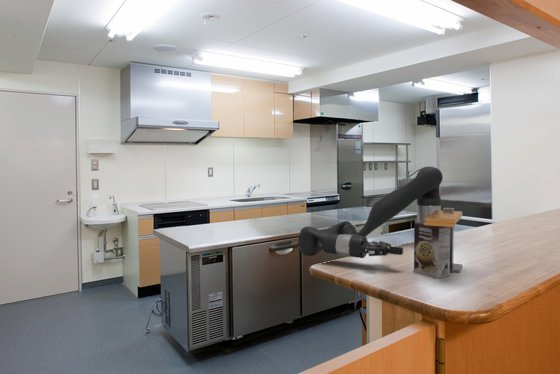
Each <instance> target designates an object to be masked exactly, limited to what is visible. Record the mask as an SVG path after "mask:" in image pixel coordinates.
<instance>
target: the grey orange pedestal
mask: <svg viewBox="0 0 560 374" xmlns="http://www.w3.org/2000/svg"><path fill="white" fill-rule="evenodd" d="M462 217H463V211H461V210H460V211H457V210H455V208H454V207H444V208H442V210H441V211H440V210H436V211H434V212H433V213H431V214H430V215H429V216H427V217H426V218H425V225H430V226H445V227H451V230H450V270H449V273H458V274H460V273H461V271H462V268H463V264H461V263H455V262H454V252H455V251H454V247H455V246H454V244H455V243H454V236H455V234H454V233H455V232H454V231H455V226H456V224H457V222H459V221H460V220H461V218H462Z"/></svg>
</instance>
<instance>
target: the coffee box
mask: <svg viewBox="0 0 560 374" xmlns="http://www.w3.org/2000/svg"><path fill="white" fill-rule="evenodd" d="M413 224H414V227H413V228H414V229H413V230H414V233H413V237H414V238H413V239H414V241H413V242H414V243H413V244H414V245H413V272H415V273H418V274H421V275H425V276H427V277H430V278H434V279H440V277H441V278H444V277H445V278H446V277H448V276H450V272H449V270H450V230H451V227H445V226H430V225H425V222H417V221H416V222H414V223H413Z"/></svg>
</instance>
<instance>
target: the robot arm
mask: <svg viewBox="0 0 560 374" xmlns="http://www.w3.org/2000/svg"><path fill="white" fill-rule="evenodd" d="M442 181H443V173H442V171H441V170H440V169H439V168H437V167H434V166H424V167H421V168H420V169H419V170H417V173H416V176H414V178H412V179H411V180H410V181H409V182H408V183H406V184H404V185H403V186H401V187H399V188H397V189H395V190H393V191H391V192H389V193H387V194H386V195H385V196H383V197H381V198H380V199H378V201H376V202H374V204H373V205H372V207H371V209H370V212H369V214H368V216H367V219H366V222H365V223H364V225H363V226H362V227H361V229H360V230H359V231H357V229H356V228H355V227H354V225H353V224H352V223H351V222H350V221H349V220H343V221H341V222H337V224H334V225H331V226H329V227H328V228H323V229H318V228H315V227H313V226H304V227H303V228H301V230H300V231H299V250H300V253H301V254H302V255H304V256H307V257H311V256H315V255H318V254H319V253H320V252H321V251H322V250H323V252H324V253H326V254H331V255H332V254H334V255H340V256H344V257H351V258H357V259H358V258H359V259H364V258H365V257H366V256H367V254H368V256H369V257H381V256H387V255H388V256H389V255H396V256H397V255H398V256H402V255H403V254H404V247H400V246H392V244H391V243H388V242H385V241H382V240H380V241H378V242H377V241H375V240H371V242H369V241H368V238H367V236H368V235H370V234H371V233H372V232H374V231H375V230H376V229H378V228H379V227H380V226H382V225H384V224H385V223H387V222H388V221H390V220H392V218H395V216H397V215H399V214H400V213H401V212H402V211H403V210H405V209H406V208H407V207H409V206H410V205H411V204H412V203H413V202H415V201H416V203H417V204H416V222H425V218H426V217H427V216H429V215H430V214H431V213H433V212H434V211H436V210H440V211H442V210H441V205H442V202H441V201H442V199H441V196H440V195H441V193H440V186H441V184H442Z"/></svg>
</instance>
